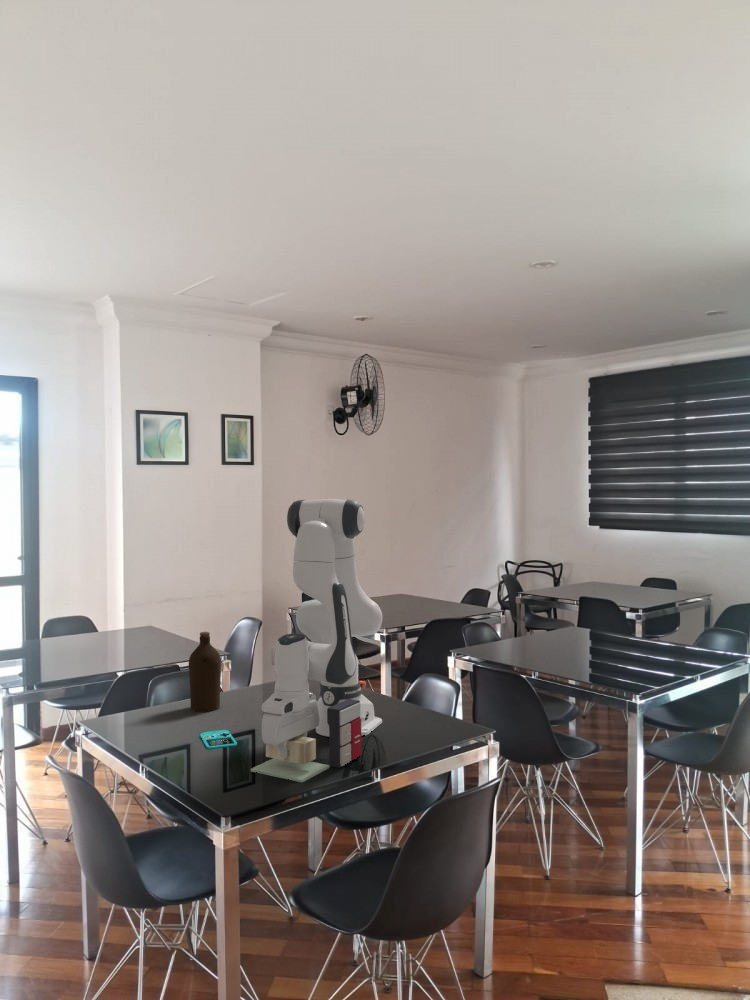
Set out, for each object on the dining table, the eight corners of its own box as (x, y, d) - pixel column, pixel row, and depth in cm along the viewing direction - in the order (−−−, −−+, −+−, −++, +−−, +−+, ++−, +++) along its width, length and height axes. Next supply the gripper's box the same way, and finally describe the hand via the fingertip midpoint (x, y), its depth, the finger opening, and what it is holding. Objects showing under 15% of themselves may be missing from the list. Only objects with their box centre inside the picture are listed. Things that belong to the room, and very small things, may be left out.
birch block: (277, 732, 204) (315, 738, 198) (277, 751, 204) (315, 758, 198) (265, 736, 199) (304, 744, 193) (265, 756, 199) (304, 764, 193)
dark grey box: (341, 769, 198) (341, 710, 198) (327, 766, 201) (326, 708, 201) (363, 756, 208) (362, 700, 208) (349, 754, 210) (348, 698, 210)
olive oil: (227, 708, 258) (227, 632, 258) (199, 714, 251) (198, 636, 251) (211, 702, 266) (210, 628, 266) (182, 708, 258) (182, 632, 258)
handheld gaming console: (227, 728, 232) (237, 743, 218) (227, 732, 232) (237, 747, 218) (198, 731, 229) (207, 746, 215) (198, 735, 229) (207, 750, 215)
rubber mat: (279, 757, 208) (279, 755, 208) (329, 767, 200) (329, 765, 200) (250, 771, 197) (250, 768, 197) (302, 782, 189) (302, 780, 189)
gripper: (305, 689, 209) (305, 740, 209) (257, 706, 191) (257, 763, 191) (325, 691, 206) (325, 744, 206) (277, 709, 188) (278, 767, 188)
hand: (292, 753), depth 198 cm, fingers closed on birch block, 5 cm apart
